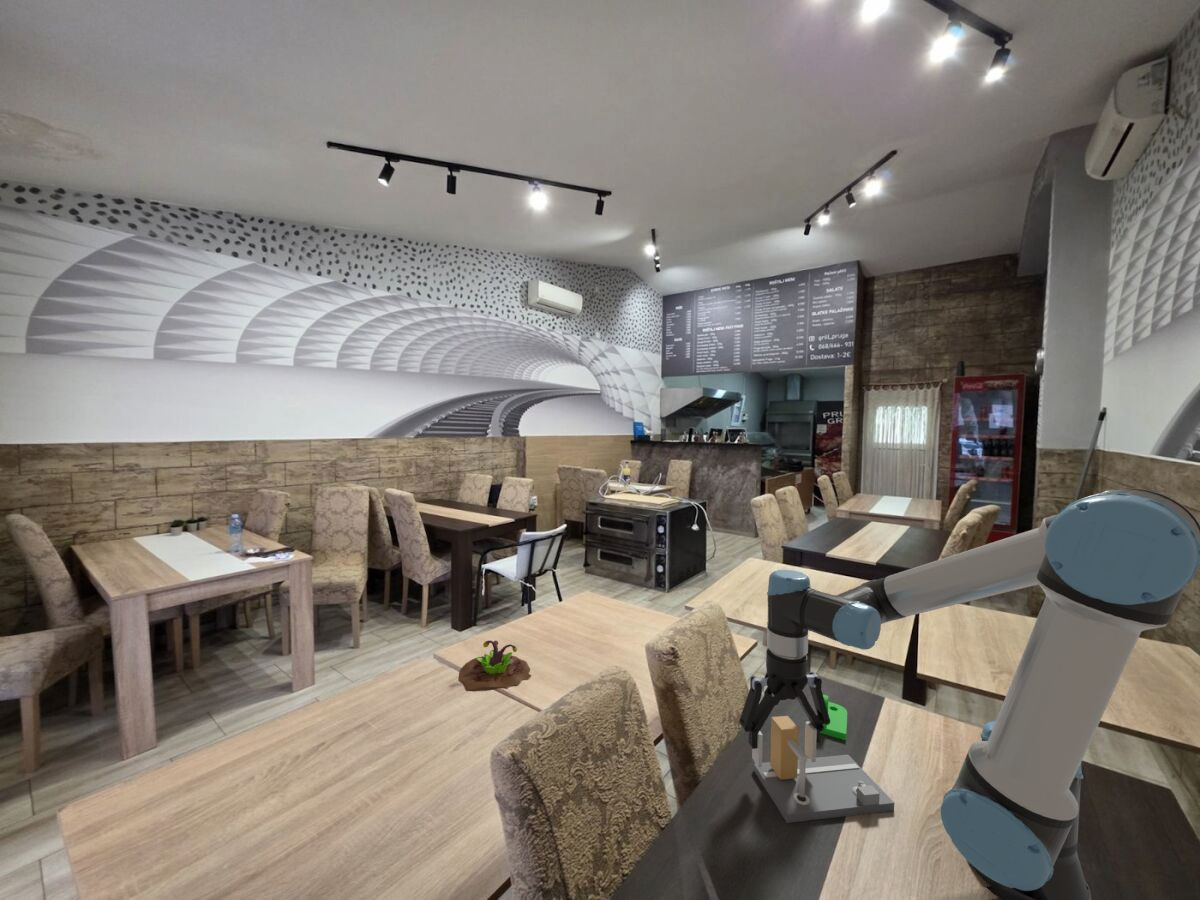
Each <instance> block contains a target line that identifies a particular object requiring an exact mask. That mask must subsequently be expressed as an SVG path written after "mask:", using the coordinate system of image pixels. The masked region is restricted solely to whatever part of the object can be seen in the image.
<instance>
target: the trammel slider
mask: <svg viewBox="0 0 1200 900" xmlns="http://www.w3.org/2000/svg"><path fill="white" fill-rule="evenodd" d="M770 719H771V720H770V721H771V723H770V761H769V762H770V766H771V767H772V768H773V770H774V771H775V773H776V774H777V776H778V777H779V778H780V780H782V779H792V778H797V768H798V759H800V771H799V796H801V797H804V796H805V768H806V762H807V758H808V756H807V755H806V754H805V751H803V750H802V749H801V747H800V746H799V731H800V730H799V729H800V727H798V726H797V724H796V723H795V722H794V721H793V720H792V719H791V718H790V717H789V715H783V716H781V715H780V716H772V717H771V718H770Z"/></svg>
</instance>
